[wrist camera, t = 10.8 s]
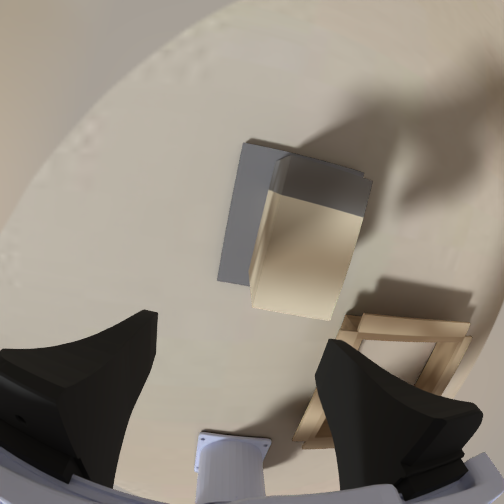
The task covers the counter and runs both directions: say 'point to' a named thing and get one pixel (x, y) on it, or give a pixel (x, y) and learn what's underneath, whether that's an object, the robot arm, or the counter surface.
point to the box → (306, 237)
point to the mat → (251, 208)
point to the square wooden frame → (392, 329)
